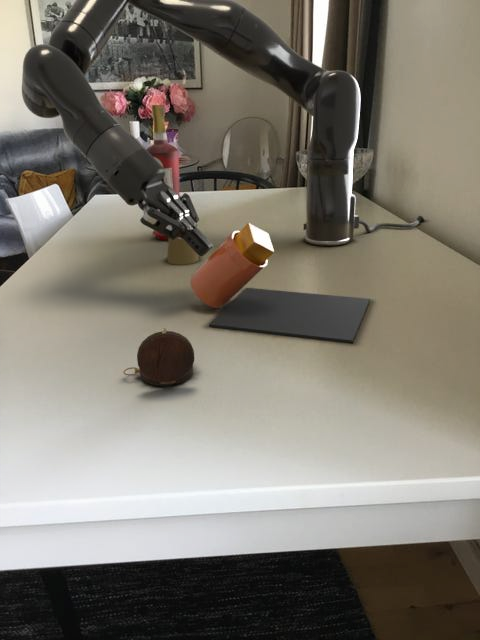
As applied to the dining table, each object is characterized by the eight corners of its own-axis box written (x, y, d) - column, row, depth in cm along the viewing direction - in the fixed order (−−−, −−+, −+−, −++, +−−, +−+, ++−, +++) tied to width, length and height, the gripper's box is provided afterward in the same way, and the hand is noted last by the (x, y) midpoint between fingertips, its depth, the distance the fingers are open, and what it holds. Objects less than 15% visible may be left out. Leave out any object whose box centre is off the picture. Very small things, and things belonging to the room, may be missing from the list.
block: (250, 250, 84) (268, 233, 82) (256, 269, 82) (274, 252, 80) (230, 240, 82) (248, 222, 80) (235, 260, 79) (254, 241, 77)
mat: (209, 326, 79) (208, 324, 79) (246, 290, 93) (246, 287, 93) (352, 343, 73) (352, 340, 72) (369, 301, 86) (370, 298, 86)
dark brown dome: (190, 360, 69) (186, 304, 67) (197, 391, 62) (192, 330, 59) (124, 366, 68) (117, 310, 66) (123, 399, 61) (115, 338, 58)
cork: (193, 265, 107) (189, 206, 103) (163, 264, 108) (158, 206, 104) (202, 256, 112) (198, 200, 108) (172, 255, 114) (168, 200, 109)
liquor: (145, 240, 126) (132, 106, 115) (162, 232, 132) (151, 104, 121) (175, 242, 123) (164, 105, 112) (190, 234, 129) (181, 103, 119)
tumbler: (220, 281, 90) (262, 241, 85) (228, 313, 86) (271, 273, 81) (187, 267, 86) (228, 224, 81) (193, 299, 82) (236, 256, 77)
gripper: (134, 177, 91) (209, 255, 91) (87, 191, 79) (173, 281, 80) (161, 142, 87) (238, 225, 88) (116, 152, 76) (205, 246, 76)
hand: (207, 251), depth 84 cm, fingers closed
